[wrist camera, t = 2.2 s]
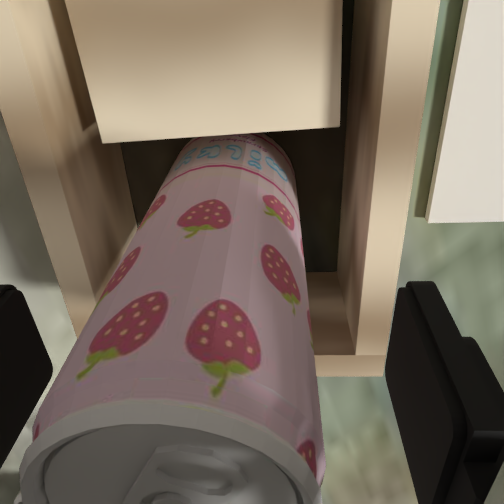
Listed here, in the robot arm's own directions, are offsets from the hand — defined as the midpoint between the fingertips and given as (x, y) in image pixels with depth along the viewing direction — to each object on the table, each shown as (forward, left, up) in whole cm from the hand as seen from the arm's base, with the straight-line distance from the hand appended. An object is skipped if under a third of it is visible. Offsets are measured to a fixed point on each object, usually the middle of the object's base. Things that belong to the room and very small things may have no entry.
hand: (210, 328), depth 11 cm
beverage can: (-1, 0, -11) cm, 11 cm away
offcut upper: (+6, 0, -9) cm, 11 cm away
